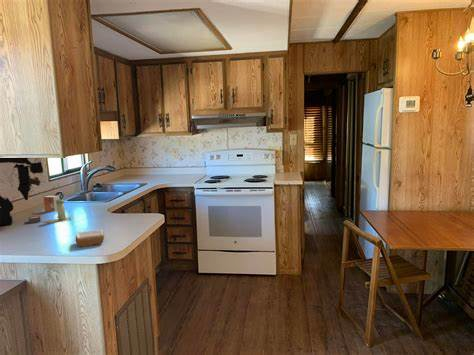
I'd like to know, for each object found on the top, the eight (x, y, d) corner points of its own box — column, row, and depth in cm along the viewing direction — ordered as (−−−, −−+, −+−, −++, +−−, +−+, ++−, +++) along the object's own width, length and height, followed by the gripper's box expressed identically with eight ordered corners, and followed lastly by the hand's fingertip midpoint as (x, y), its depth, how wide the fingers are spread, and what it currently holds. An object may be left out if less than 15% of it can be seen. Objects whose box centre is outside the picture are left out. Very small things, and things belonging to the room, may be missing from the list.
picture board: (42, 225, 205) (42, 224, 205) (43, 219, 219) (42, 218, 219) (77, 220, 213) (77, 219, 213) (75, 214, 228) (75, 213, 228)
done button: (30, 221, 209) (30, 218, 208) (31, 220, 212) (30, 217, 212) (38, 220, 210) (38, 217, 210) (38, 219, 214) (38, 216, 214)
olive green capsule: (58, 220, 211) (56, 201, 209) (58, 219, 214) (55, 200, 213) (66, 219, 213) (63, 200, 211) (65, 218, 216) (63, 199, 215)
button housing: (29, 224, 207) (28, 218, 207) (29, 222, 213) (29, 216, 212) (40, 222, 210) (40, 217, 210) (41, 220, 215) (40, 215, 215)
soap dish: (76, 248, 162) (75, 238, 161) (76, 242, 170) (75, 232, 170) (105, 244, 167) (104, 233, 166) (103, 238, 175) (102, 228, 175)
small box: (44, 212, 240) (43, 196, 238) (51, 210, 245) (49, 195, 244) (54, 212, 238) (53, 197, 236) (60, 210, 243) (59, 195, 242)
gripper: (38, 174, 207) (41, 201, 210) (39, 172, 224) (42, 196, 226) (16, 176, 202) (19, 203, 205) (18, 173, 219) (21, 198, 221)
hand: (26, 200), depth 214 cm, fingers closed
